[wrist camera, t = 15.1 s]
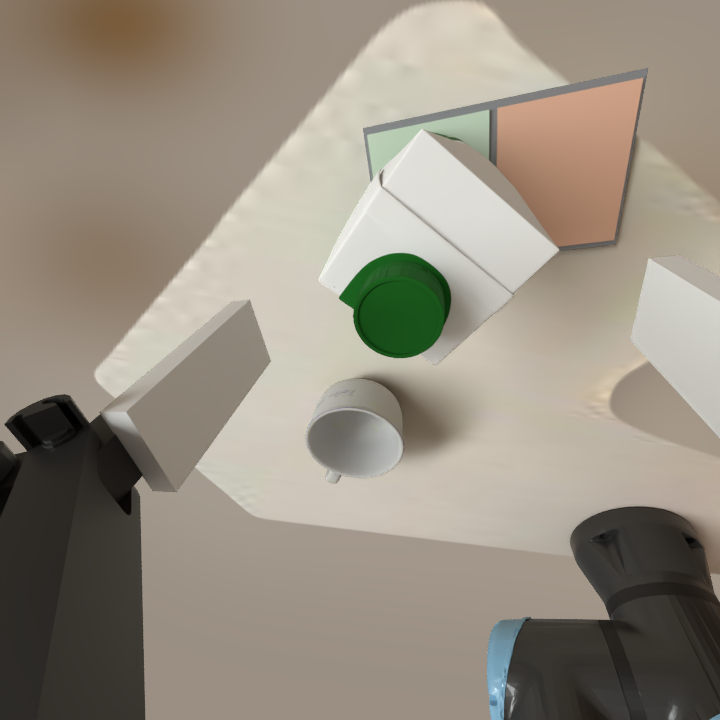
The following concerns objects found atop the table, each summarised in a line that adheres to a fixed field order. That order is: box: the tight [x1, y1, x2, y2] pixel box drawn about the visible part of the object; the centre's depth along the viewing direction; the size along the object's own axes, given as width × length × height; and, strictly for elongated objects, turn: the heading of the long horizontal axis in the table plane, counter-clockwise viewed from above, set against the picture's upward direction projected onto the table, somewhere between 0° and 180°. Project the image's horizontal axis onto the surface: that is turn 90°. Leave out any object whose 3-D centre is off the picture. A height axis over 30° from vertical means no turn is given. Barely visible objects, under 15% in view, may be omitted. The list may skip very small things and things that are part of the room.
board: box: [363, 68, 648, 251], centre depth 31 cm, size 12×20×1 cm, turn 100°
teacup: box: [305, 378, 404, 484], centre depth 44 cm, size 14×11×8 cm
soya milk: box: [319, 129, 559, 365], centre depth 23 cm, size 9×9×20 cm
